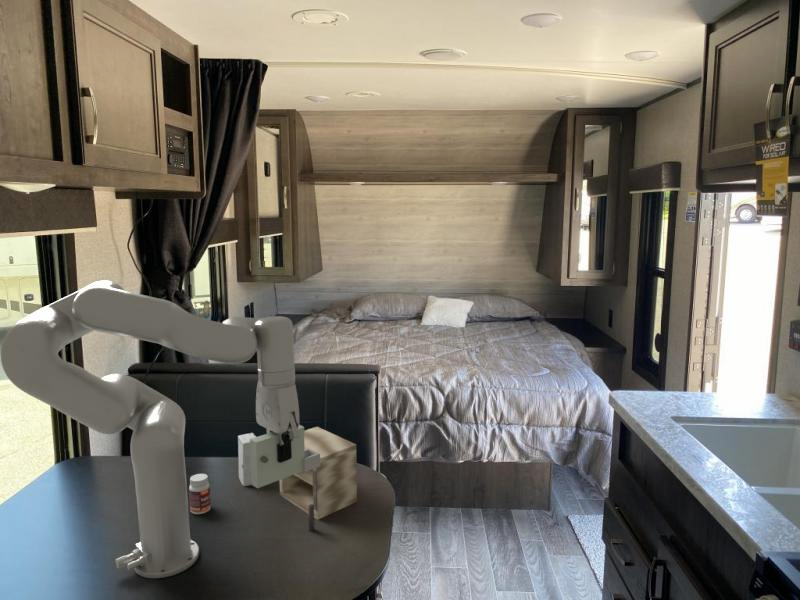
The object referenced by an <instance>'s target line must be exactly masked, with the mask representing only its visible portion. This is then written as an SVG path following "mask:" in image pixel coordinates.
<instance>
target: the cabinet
mask: <svg viewBox="0 0 800 600" xmlns="http://www.w3.org/2000/svg"><path fill="white" fill-rule="evenodd" d="M304 447H305V449H308V448H309V449H311V450H314V451H316V452H318V453H320V467H317V468H315V469H312V470H310V471H307V472H304V471H301V472H299V473H296V474H294V475H291V476H288V477H286V478H283V479H281V480H279V496H281V497H282V498H283V499H285V500H287V501H288V502H290V503H291V504H292V505H294V506H296V507H298V508H299V509H301V510H302V511H303V512H305V513H306V514H308V531H309V532H311V533H312V532H315V520H321V519H322V518H324V517H327V516H328V515H331V514H333V513H335V512H338V511H340V510H341V509H344V508H346V507H348V506H350V505H352V504H355V503H357V502H358V494H357V493H358V482H357V481H358V479H357V476H358V475H357V465H358V464H357V443H353V442H352V441H350V440H348V439H345V438H343V437H341V436H339V435H337V434H334V433H332V432H330V431H328V430H325V429H323V428H321V427H319V426H315V427H312V428H308V429H306V430H305V429H304Z"/></svg>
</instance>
